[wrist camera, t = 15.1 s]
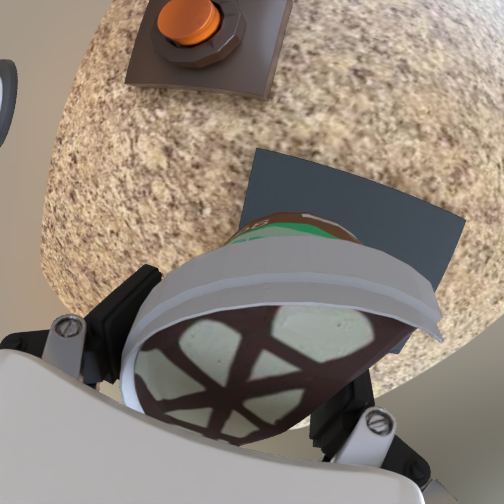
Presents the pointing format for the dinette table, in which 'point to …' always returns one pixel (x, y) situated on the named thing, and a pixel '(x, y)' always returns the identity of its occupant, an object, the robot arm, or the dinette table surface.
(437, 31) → the dinette table surface
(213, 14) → the button
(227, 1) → the button box
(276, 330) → the food container
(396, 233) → the mat
